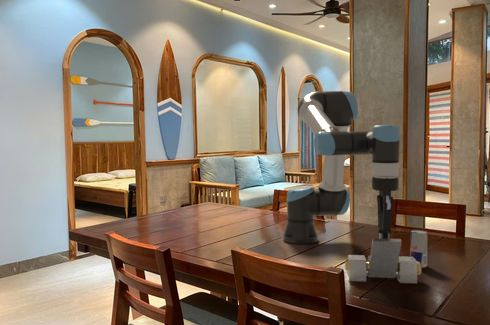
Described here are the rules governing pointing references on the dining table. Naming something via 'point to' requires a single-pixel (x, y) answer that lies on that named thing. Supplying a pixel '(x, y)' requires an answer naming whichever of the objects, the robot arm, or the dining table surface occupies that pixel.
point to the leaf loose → (384, 257)
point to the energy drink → (419, 246)
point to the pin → (397, 267)
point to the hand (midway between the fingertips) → (384, 253)
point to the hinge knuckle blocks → (404, 276)
